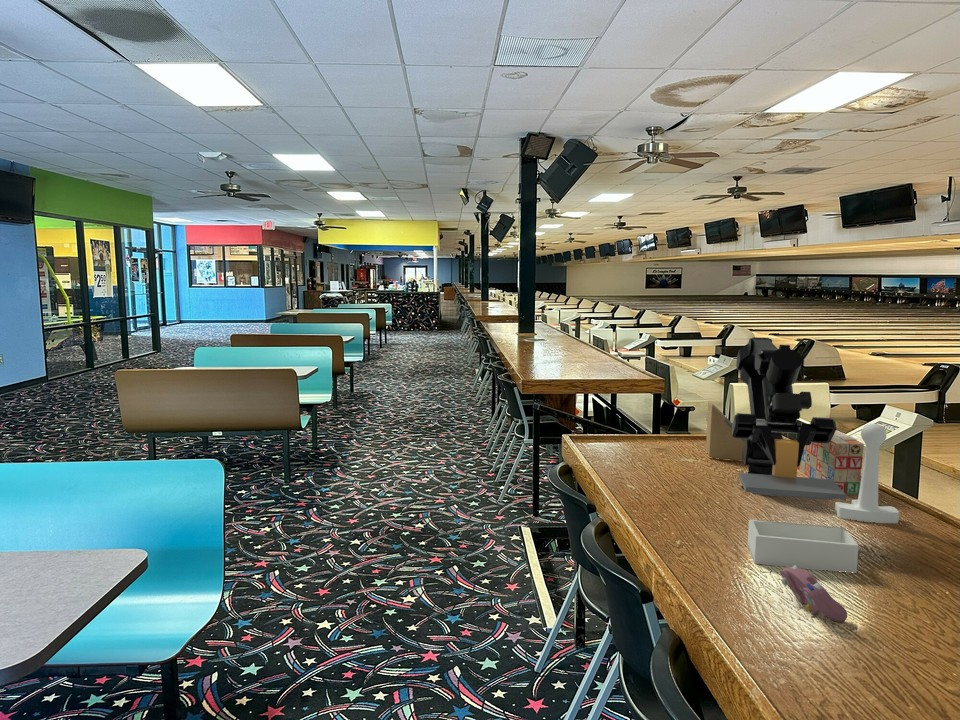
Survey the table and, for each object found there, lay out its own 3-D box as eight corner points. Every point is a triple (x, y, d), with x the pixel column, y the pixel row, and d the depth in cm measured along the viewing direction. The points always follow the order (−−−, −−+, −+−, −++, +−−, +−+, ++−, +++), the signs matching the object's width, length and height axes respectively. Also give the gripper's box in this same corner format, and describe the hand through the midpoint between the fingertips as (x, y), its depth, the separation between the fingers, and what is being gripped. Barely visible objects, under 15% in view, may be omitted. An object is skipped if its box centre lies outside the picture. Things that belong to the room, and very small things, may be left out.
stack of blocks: (793, 467, 171) (796, 421, 170) (818, 467, 171) (821, 421, 169) (832, 494, 150) (835, 442, 149) (860, 495, 150) (864, 442, 148)
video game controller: (786, 601, 104) (770, 564, 103) (812, 588, 104) (795, 551, 103) (824, 635, 94) (807, 595, 93) (852, 620, 94) (835, 580, 93)
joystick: (839, 519, 134) (847, 424, 132) (830, 507, 142) (837, 416, 139) (900, 524, 131) (909, 427, 129) (887, 511, 139) (895, 419, 136)
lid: (737, 478, 133) (739, 436, 132) (828, 485, 129) (832, 442, 128) (745, 496, 123) (747, 450, 121) (845, 504, 119) (848, 457, 117)
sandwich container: (769, 463, 175) (772, 408, 173) (709, 459, 178) (711, 405, 176) (762, 454, 183) (766, 402, 181) (705, 451, 187) (708, 399, 185)
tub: (747, 545, 121) (748, 519, 121) (842, 554, 117) (844, 527, 117) (754, 563, 113) (756, 536, 113) (856, 574, 110) (858, 545, 109)
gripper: (736, 374, 133) (741, 440, 124) (837, 378, 128) (850, 447, 119) (729, 404, 142) (733, 468, 132) (823, 409, 137) (834, 475, 128)
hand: (786, 464), depth 128 cm, fingers closed on lid, 4 cm apart
